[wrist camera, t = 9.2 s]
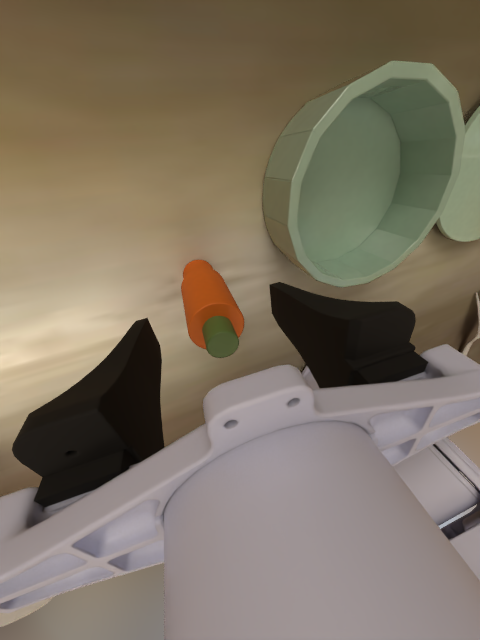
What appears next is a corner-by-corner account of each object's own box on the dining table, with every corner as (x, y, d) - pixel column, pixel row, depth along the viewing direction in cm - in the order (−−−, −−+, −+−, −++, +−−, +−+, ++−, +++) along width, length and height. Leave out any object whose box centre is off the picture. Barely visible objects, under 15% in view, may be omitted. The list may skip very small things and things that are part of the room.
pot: (431, 139, 18) (499, 132, 14) (347, 279, 23) (382, 300, 19) (311, 39, 13) (367, -7, 10) (239, 243, 18) (258, 263, 15)
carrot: (222, 261, 18) (262, 324, 11) (211, 295, 20) (240, 371, 13) (184, 250, 17) (201, 313, 10) (174, 287, 19) (183, 366, 11)
